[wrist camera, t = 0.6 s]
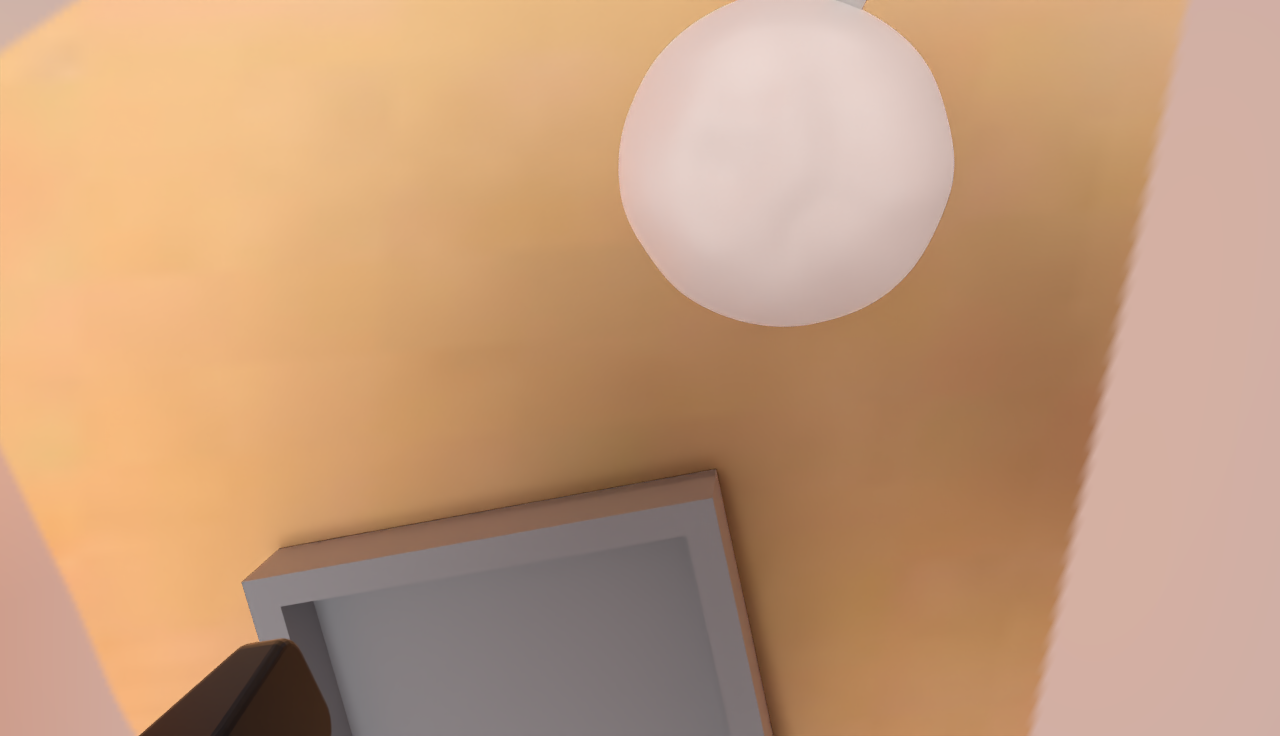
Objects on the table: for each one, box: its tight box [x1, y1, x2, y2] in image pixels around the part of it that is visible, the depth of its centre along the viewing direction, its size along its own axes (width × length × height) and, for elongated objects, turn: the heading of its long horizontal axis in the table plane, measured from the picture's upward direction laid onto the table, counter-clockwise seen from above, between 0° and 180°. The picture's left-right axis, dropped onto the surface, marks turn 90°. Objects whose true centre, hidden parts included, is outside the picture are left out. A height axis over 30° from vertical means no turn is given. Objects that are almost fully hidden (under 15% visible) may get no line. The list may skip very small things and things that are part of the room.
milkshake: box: [619, 0, 954, 327], centre depth 18 cm, size 4×5×10 cm
